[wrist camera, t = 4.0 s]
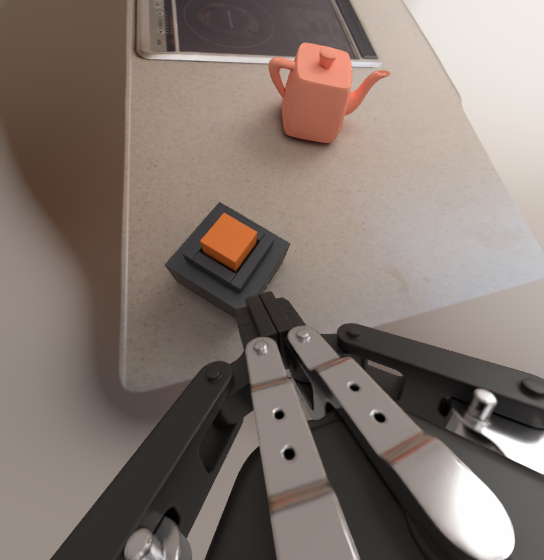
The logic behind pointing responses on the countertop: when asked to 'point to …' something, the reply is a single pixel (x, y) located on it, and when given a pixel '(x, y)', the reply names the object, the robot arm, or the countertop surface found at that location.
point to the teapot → (318, 91)
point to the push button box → (219, 278)
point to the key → (229, 241)
